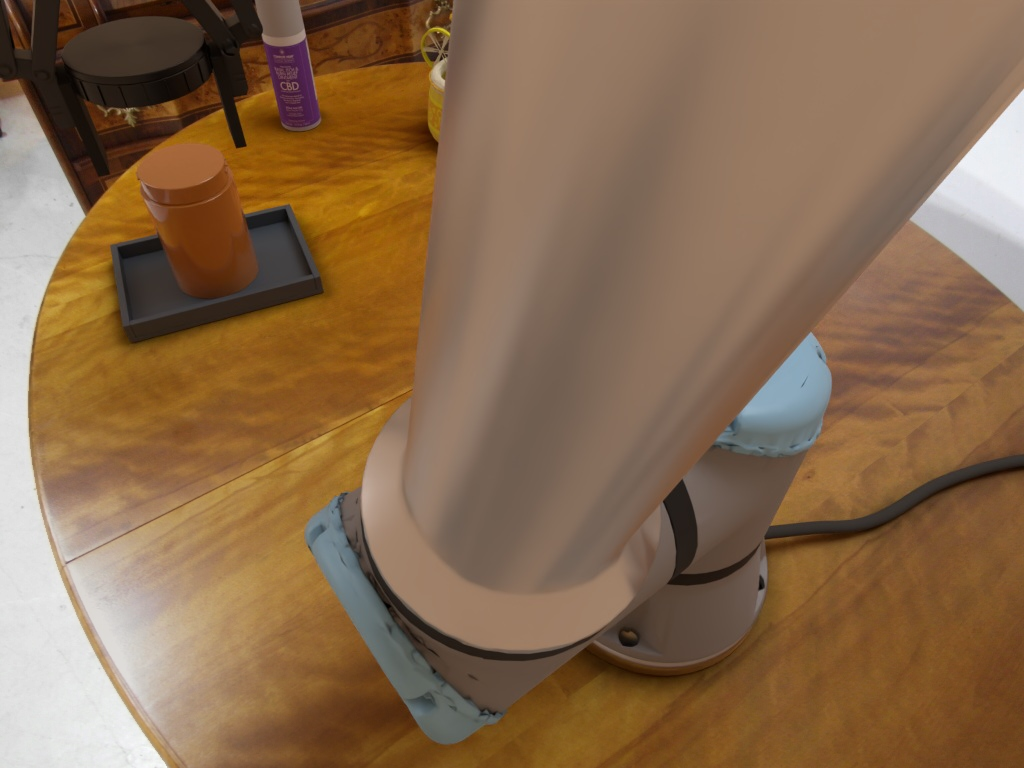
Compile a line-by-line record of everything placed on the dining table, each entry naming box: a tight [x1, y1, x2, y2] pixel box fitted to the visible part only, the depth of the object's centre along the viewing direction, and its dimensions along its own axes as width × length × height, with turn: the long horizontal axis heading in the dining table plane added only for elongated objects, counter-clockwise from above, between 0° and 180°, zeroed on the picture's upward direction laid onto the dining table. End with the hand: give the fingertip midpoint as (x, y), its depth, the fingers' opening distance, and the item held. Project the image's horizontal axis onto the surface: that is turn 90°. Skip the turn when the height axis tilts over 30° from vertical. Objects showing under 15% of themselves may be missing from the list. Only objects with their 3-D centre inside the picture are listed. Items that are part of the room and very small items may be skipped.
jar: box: [135, 142, 259, 299], centre depth 69 cm, size 8×8×12 cm
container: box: [254, 0, 322, 132], centre depth 87 cm, size 5×5×15 cm
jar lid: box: [60, 15, 213, 109], centre depth 50 cm, size 9×9×2 cm
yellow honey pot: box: [420, 12, 452, 144], centre depth 87 cm, size 13×11×12 cm
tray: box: [109, 203, 325, 344], centre depth 73 cm, size 17×12×2 cm
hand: (171, 151), depth 55 cm, fingers closed on jar lid, 8 cm apart
